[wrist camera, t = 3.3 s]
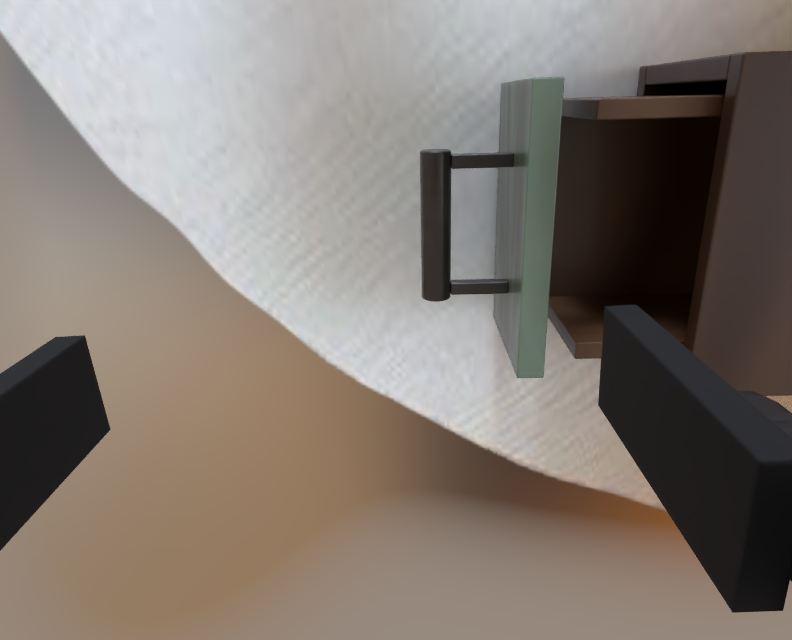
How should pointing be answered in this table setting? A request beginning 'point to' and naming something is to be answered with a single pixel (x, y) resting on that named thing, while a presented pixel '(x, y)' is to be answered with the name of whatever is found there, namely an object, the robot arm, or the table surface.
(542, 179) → the drawer
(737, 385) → the dresser
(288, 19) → the table surface
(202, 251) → the table surface
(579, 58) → the table surface
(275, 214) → the table surface
